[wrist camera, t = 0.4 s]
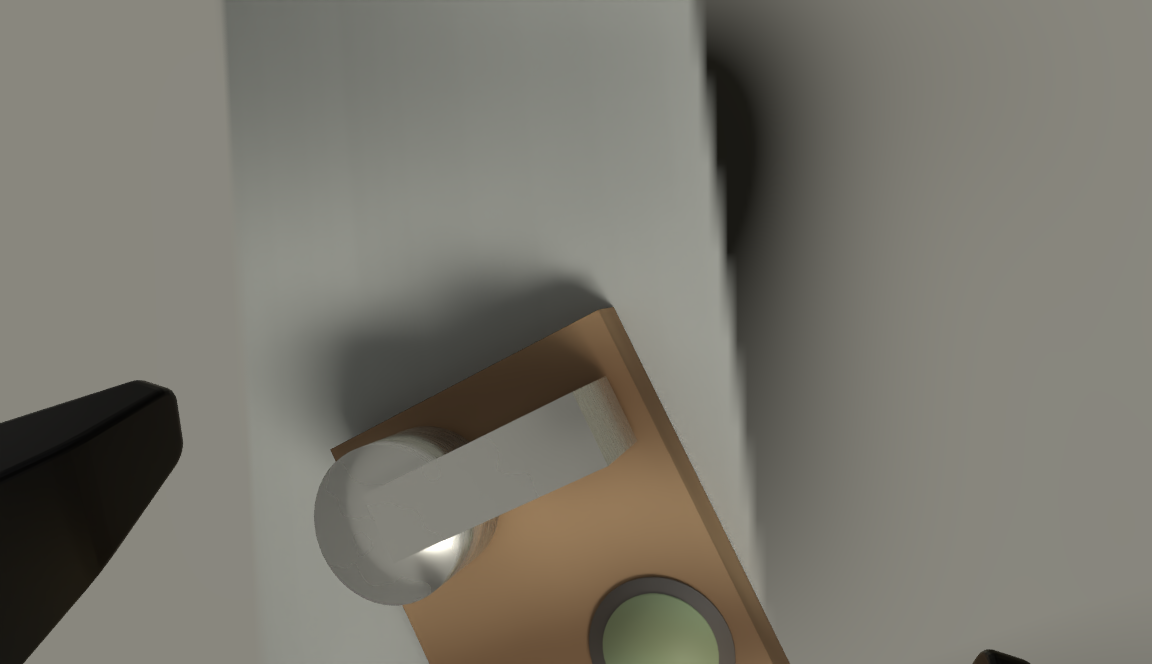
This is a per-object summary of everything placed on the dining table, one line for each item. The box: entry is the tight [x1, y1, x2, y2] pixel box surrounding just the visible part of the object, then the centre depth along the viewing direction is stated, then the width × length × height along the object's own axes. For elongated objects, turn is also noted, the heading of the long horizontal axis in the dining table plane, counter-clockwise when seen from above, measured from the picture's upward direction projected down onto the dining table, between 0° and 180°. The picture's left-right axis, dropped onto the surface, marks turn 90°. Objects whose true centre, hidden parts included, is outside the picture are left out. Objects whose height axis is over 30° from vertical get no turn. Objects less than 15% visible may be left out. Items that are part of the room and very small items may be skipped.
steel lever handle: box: [314, 376, 638, 605], centre depth 21 cm, size 8×4×3 cm, turn 117°
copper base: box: [330, 307, 790, 664], centre depth 23 cm, size 17×9×2 cm, turn 27°
